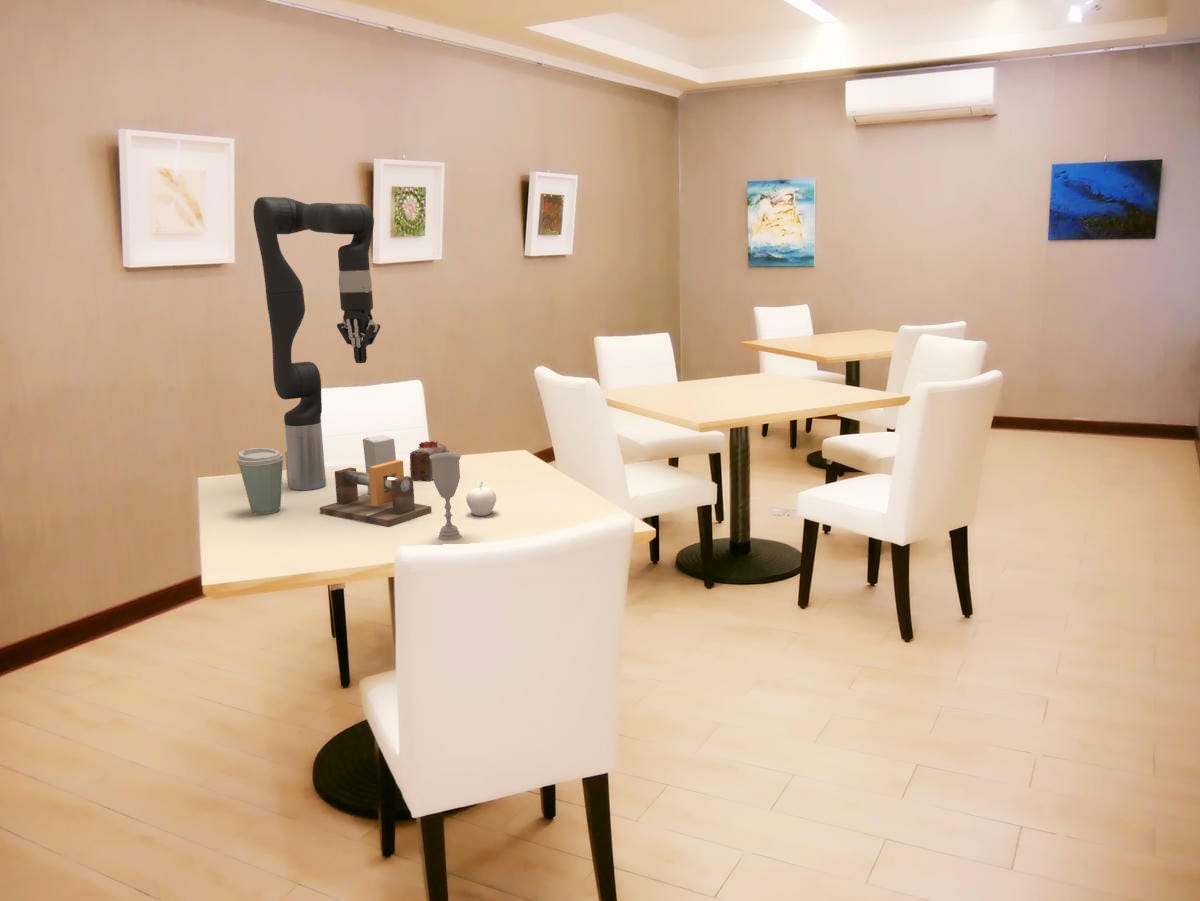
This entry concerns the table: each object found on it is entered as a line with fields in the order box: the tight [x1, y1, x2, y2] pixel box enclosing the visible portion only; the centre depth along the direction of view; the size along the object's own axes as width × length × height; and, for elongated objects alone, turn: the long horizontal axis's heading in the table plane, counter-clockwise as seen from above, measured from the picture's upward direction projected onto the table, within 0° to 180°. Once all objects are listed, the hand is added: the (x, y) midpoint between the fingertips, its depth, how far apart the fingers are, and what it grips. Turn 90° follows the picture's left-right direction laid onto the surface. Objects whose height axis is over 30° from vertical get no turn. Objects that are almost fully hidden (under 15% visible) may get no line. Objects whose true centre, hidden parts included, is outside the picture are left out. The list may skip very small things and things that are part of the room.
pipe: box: [344, 470, 410, 492], centre depth 229 cm, size 21×3×3 cm, turn 57°
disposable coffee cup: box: [236, 447, 284, 516], centre depth 232 cm, size 11×11×15 cm
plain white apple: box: [465, 481, 497, 517], centre depth 227 cm, size 7×7×8 cm
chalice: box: [429, 452, 462, 541], centre depth 208 cm, size 7×7×18 cm
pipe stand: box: [319, 467, 432, 528], centre depth 230 cm, size 23×14×10 cm, turn 57°
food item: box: [409, 440, 450, 482], centre depth 268 cm, size 14×8×10 cm, turn 170°
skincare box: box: [362, 434, 397, 494], centre depth 247 cm, size 8×6×15 cm
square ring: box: [369, 459, 405, 506], centre depth 227 cm, size 2×9×9 cm, turn 146°
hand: (360, 362), depth 233 cm, fingers closed
